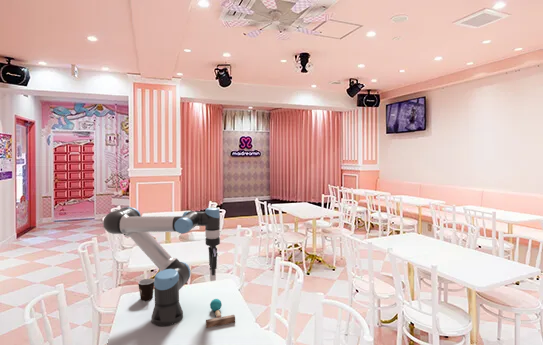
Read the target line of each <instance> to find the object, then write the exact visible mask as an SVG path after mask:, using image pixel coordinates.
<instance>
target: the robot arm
mask: <svg viewBox="0 0 543 345" xmlns="http://www.w3.org/2000/svg"><path fill="white" fill-rule="evenodd" d="M220 222H221V216H220V209H219V208H217V207H207V208H205V211H192V210H190V211H184V212H183V213H182V216H178V215H177V216H171V215H170V216H169V215H168V216H165V215H164V216H156V215H155V216H150V215H148V216H143V215H142V214H141V212H140V211H139V210H138V209H137V208H135V207H132V206H128V207H121V208H120V209H117V210H116V209H115V210H113V211H111V212H109V213H107V214H106V216H104V219H103V221H102V224H103V229H104V230H105V231H106V232H107V233H109V234H112V235H123V236H124V237H127V238H131V240H132V241H133V242H134V244H136V246H138V247H139V248H140V249H141V251H142V252H143V253H144V254H145V256H147V257H148V258H149V260H150V261H151V262H152V263H153V264H154V265H155V266H156V267H157V269H158V270H159V271H158V272H157V273H156V274H155V276H154V278H153V279H154V289H153V293H154V307H153V311H152V313H151V323H152V325H154V326H157V327H168V326H172V325H175V324H177V323H179V322H180V321H182V319H183V318H184V311H183V309H182V306H181V303H180V290H181V289H182V288H183V287H184V285H186V284H187V283H188V282H189V280H190V278H191V274H192V273H191V268H190V266H189V265H188V264H187V262H184V261H180V260H179V259H178V258H177V257H172V256H171V255H170V254H169V253H168V252H167V251H166V250H165V248H164V247H163V246H162V245H161V244H160V243H159V242H158V241H157V239H156V238H155V237H154V236H153V235H152V234H151V233H152V232H153V233H154V232H157V233H158V232H159V233H160V232H166V233H167V232H168V233H169V232H171V233H172V232H175V233H179V234H180V235H181V234H186V233H189V232H190V231H191V230H192V229H194V228H195V227H205V229H204V230H205V235H204V236H205V246H208V248H207V249H208V261H209V263H208V265H209V280H210V282H215V281H216V278H217V276H216V275H217V274H216V272H217V269H218V268H217V267H218V266H217V265H218V264H217V262H218V247H217V246H218V245H220V244H221V238H220V236H221V235H220V234H221V232H222V230H221V228H220V226H221V225H220V224H221V223H220ZM150 232H151V233H150Z"/></svg>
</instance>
